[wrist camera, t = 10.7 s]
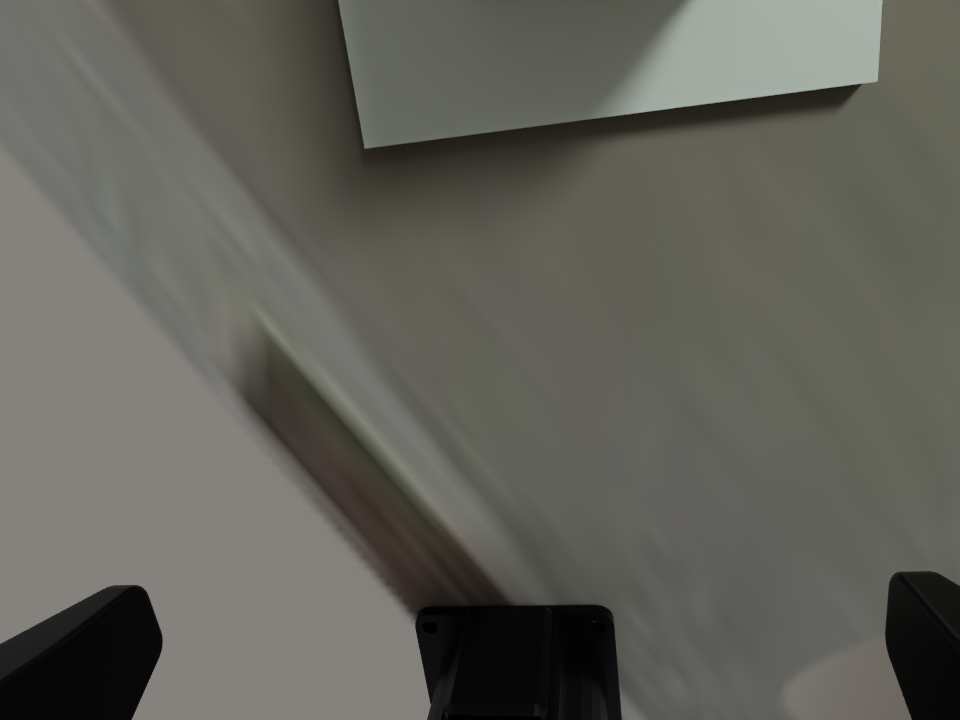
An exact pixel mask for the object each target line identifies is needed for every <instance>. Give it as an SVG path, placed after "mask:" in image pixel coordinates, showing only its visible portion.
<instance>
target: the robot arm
mask: <svg viewBox="0 0 960 720" xmlns="http://www.w3.org/2000/svg"><path fill="white" fill-rule="evenodd" d="M595 620H600V621H602V622H604V623H602V624H594V623H593V621H595ZM427 621H431V622H434V623H435V624H436V625H430V624H428V623H427ZM415 628H416V633H417V638H418V643H419V648H420V653H421V658H422V663H423V668H424V673H425V678H426V683H427V688H428V693H429V698H430V703H431V707H430V711H429V715H428V719H427V720H622V716H621V703H620V691H619V679H618V666H617V654H616V641H615V629H614V617H613V614H612V612H611V611H610V610H609V609H607V608H605V607H603V606H598V605H576V606H475V607H427V608H424V609H422V610H421V611H420V612H419V614H418V617H417V620H416V624H415ZM885 639H886V646H887V650H888V654H889V658H890V660H891V663H892V666H893V669H894V672H895V674H896V677H897V680H898V683H899V685H900V688H901V691H902V694H903V697H904V699H905V702H906V705H907V708H908V710H909V713H910V716H911V719H912V720H960V586H959V585H957V584H956V583H954V582H952V581H951V580H949V579H947V578H946V577H944V576H942V575H940V574H938V573H936V572H931V571H916V572H897V573H895V574H894V575H893V576H892V577H891V580H890V582H889V591H888V604H887V616H886V628H885ZM162 641H163V640H162V633H161V630H160V627H159V624H158V621H157V619H156V616H155V613H154V610H153V607H152V604H151V602H150V599H149V596H148V594H147V592H146V591H145V590H144V589H143V588H142V587H140V586H138V585H115V586H110V587H107V588H105V589H103V590H101V591H99V592H97V593H95V594H93V595H92V596H90V597H88V598H86V599H84V600H82V601H81V602H78V603H77V604H75V605H73V606H71V607H69V608H67V609H65V610H63V611H61V612H60V613H58V614H56V615H54V616H52V617H50V618H48V619H46V620H45V621H43V622H41V623H39V624H37V625H35V626H33V627H31V628H30V629H28V630H26V631H24V632H22V633H20V634H18V635H16V636H15V637H13V638H11V639H9V640H7V641H5V642H3V643H1V644H0V720H132V717H133V715H134V713H135V711H136V708H137V706H138V704H139V702H140V699H141V697H142V695H143V693H144V690H145V688H146V686H147V684H148V681H149V679H150V677H151V675H152V672H153V670H154V668H155V666H156V663H157V661H158V659H159V657H160V653H161V650H162Z"/></svg>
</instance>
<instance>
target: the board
mask: <svg viewBox="0 0 960 720" xmlns="http://www.w3.org/2000/svg"><path fill="white" fill-rule="evenodd" d="M338 2H339V8H340V13H341V19H342V24H343V30H344V36H345V41H346V47H347V52H348V58H349V64H350V69H351V75H352V80H353V86H354V92H355V97H356V103H357V108H358V114H359V120H360V125H361V131H362V136H363V142H364V148H365V149H366V148H374V147H382V146H389V145H397V144H405V143H412V142H420V141H427V140H435V139H443V138H450V137H458V136H466V135H473V134H481V133H488V132H496V131H504V130H511V129H519V128H527V127H534V126H542V125H549V124H557V123H565V122H572V121H580V120H588V119H595V118H603V117H611V116H618V115H626V114H633V113H641V112H649V111H656V110H664V109H672V108H679V107H687V106H694V105H702V104H710V103H717V102H725V101H733V100H740V99H748V98H756V97H763V96H771V95H778V94H786V93H794V92H801V91H809V90H817V89H824V88H832V87H839V86H847V85H855V84H862V83H870V82H878V66H879V49H880V32H881V14H882V0H338Z"/></svg>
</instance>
